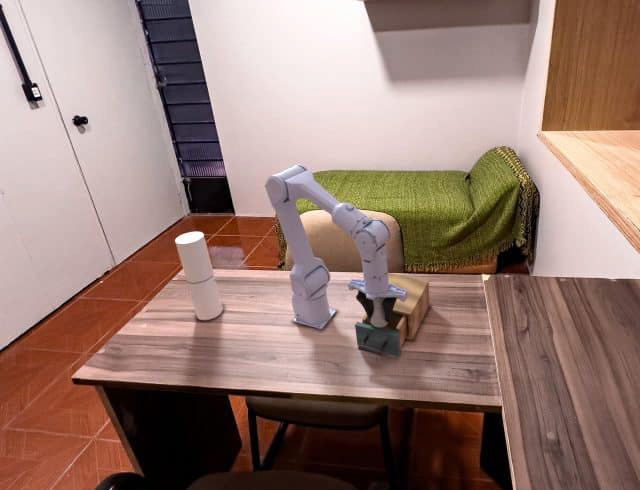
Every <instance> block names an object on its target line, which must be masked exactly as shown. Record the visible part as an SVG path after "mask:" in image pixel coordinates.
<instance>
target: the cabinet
mask: <svg viewBox="0 0 640 490" xmlns="http://www.w3.org/2000/svg"><path fill="white" fill-rule="evenodd" d="M388 280H389V283H391V284H393V285H395V286H397V287H399V288H401V289H403V290H407V299H406V300H405V302H402V301H400V299H397V300H396V302H395V305H394V308H393V312H394V313H399V314H403V315H407V316H408V325H409V333H408V335H407V337H406V338H405V340H409V341H413V339H414V337H415V335H416V333H417V331H418V330H419V327H420V325H421V323H422V321H423V319H424V317H425V316H426V313H427V312H428V309H429V307H430V281H429V280H427V279H421V278H415V277H411V276H406V275H402V274H401V275H400V274H397V273H390V272H388ZM373 303H374V301H373Z"/></svg>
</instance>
